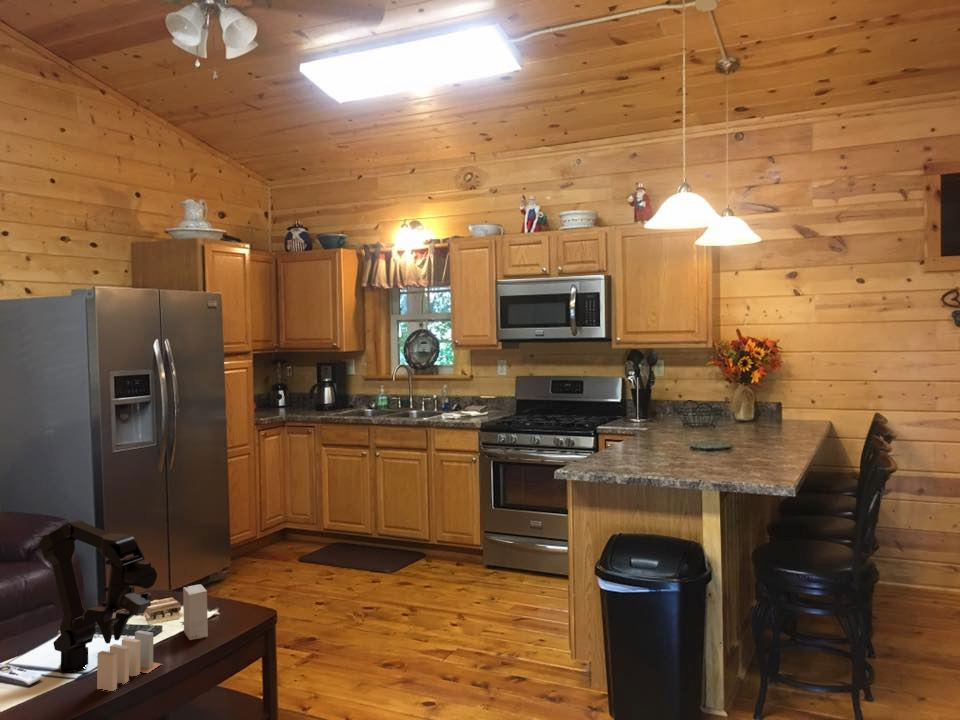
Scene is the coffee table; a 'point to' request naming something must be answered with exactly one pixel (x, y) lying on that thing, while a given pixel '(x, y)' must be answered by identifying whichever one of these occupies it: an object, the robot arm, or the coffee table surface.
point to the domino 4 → (145, 648)
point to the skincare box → (195, 612)
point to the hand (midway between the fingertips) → (112, 641)
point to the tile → (150, 668)
